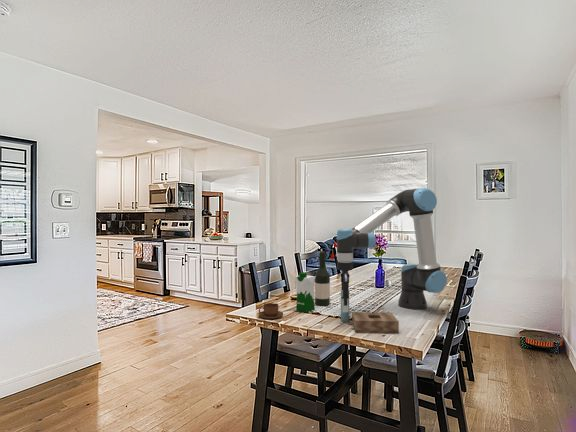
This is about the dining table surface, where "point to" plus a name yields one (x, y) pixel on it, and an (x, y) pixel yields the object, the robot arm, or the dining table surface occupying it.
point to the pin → (344, 314)
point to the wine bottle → (322, 283)
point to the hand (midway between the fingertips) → (344, 310)
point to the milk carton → (305, 292)
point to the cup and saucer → (270, 311)
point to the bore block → (375, 322)
